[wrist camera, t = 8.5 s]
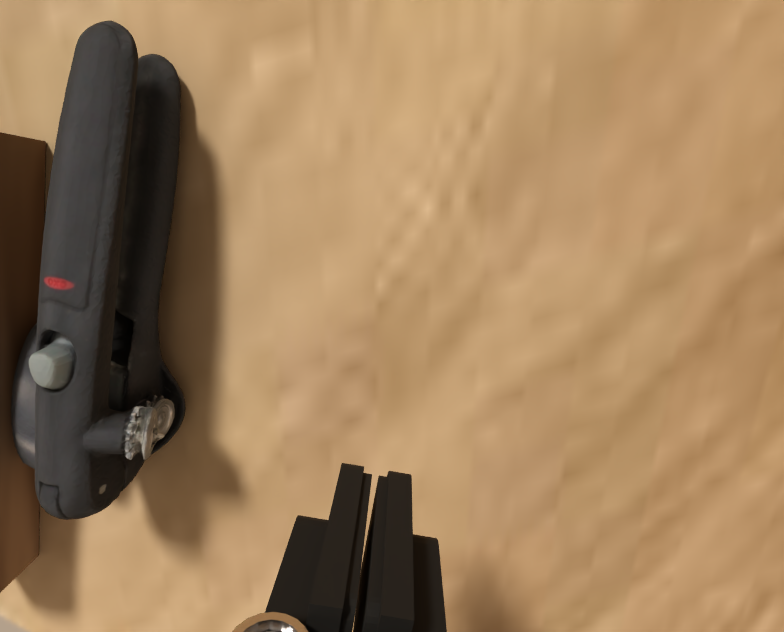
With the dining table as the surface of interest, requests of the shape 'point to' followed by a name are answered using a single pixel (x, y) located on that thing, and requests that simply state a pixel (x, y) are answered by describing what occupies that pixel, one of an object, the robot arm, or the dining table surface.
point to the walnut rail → (18, 337)
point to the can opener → (102, 282)
